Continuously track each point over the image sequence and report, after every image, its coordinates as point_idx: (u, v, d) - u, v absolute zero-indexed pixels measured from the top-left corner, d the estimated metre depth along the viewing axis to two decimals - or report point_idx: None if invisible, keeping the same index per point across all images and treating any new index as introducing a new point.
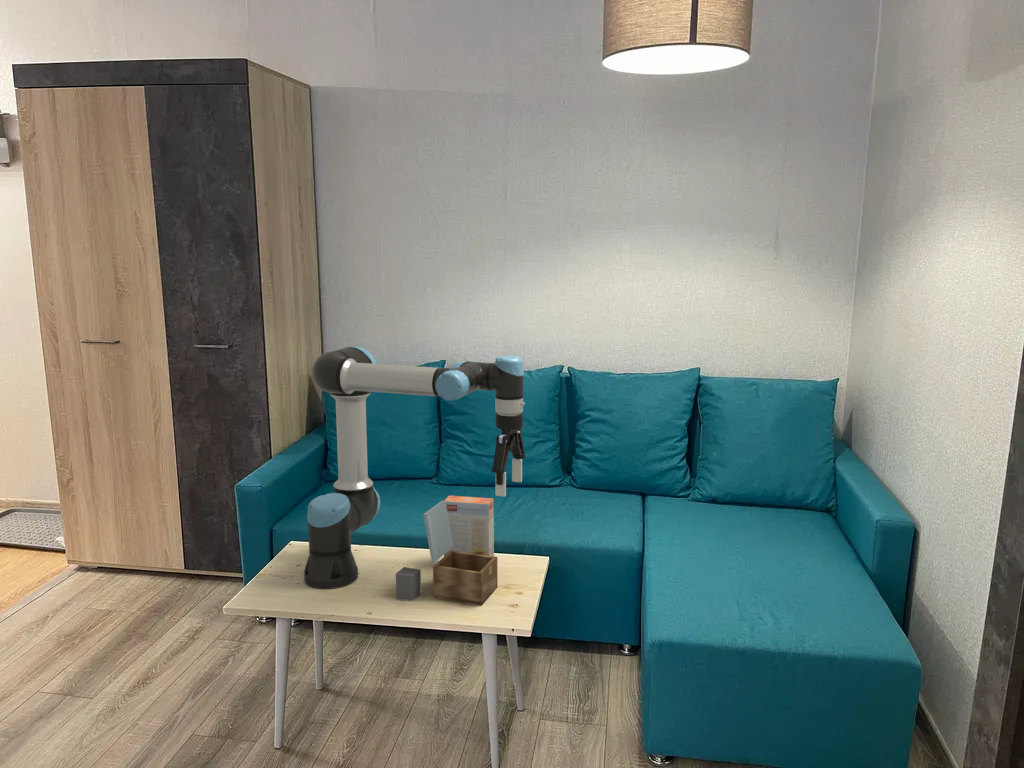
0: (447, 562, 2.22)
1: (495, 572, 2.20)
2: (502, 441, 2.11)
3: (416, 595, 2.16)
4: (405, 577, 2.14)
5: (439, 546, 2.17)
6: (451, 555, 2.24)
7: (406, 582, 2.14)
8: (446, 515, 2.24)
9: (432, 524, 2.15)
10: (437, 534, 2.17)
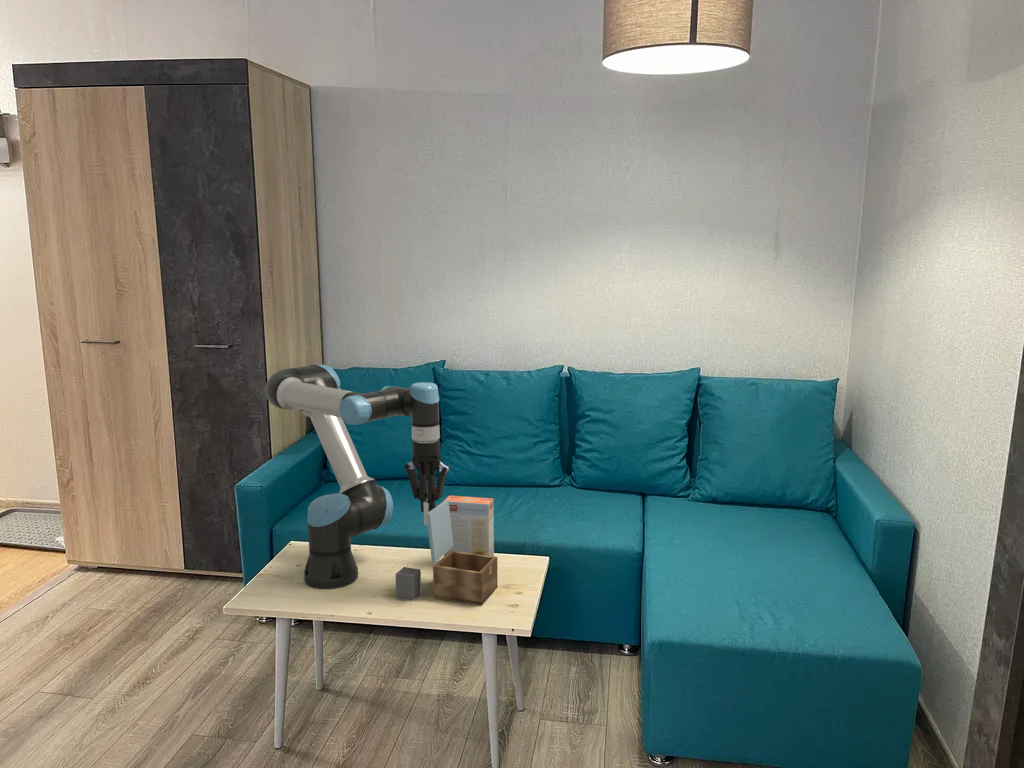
0: (447, 562, 2.22)
1: (495, 572, 2.20)
2: None
3: (416, 595, 2.16)
4: (405, 577, 2.14)
5: (440, 546, 2.17)
6: (451, 555, 2.24)
7: (406, 582, 2.14)
8: (449, 515, 2.24)
9: (434, 524, 2.15)
10: (439, 534, 2.17)
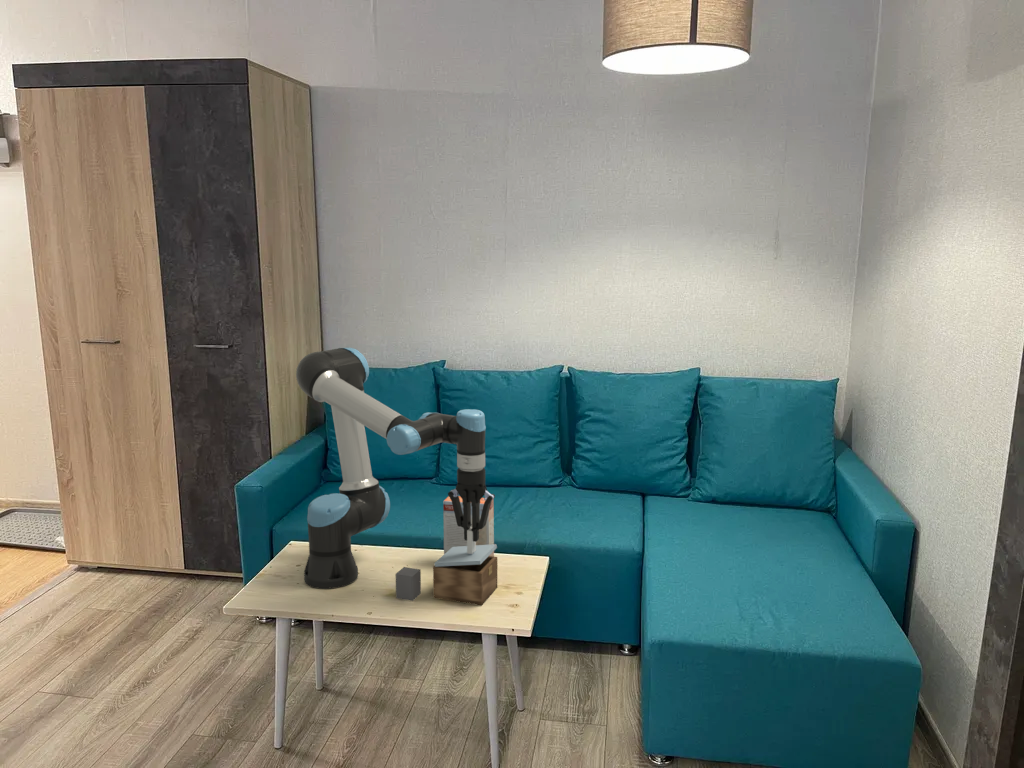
0: None
1: (495, 572, 2.20)
2: None
3: (416, 595, 2.16)
4: (405, 577, 2.14)
5: None
6: None
7: (406, 582, 2.14)
8: None
9: None
10: None
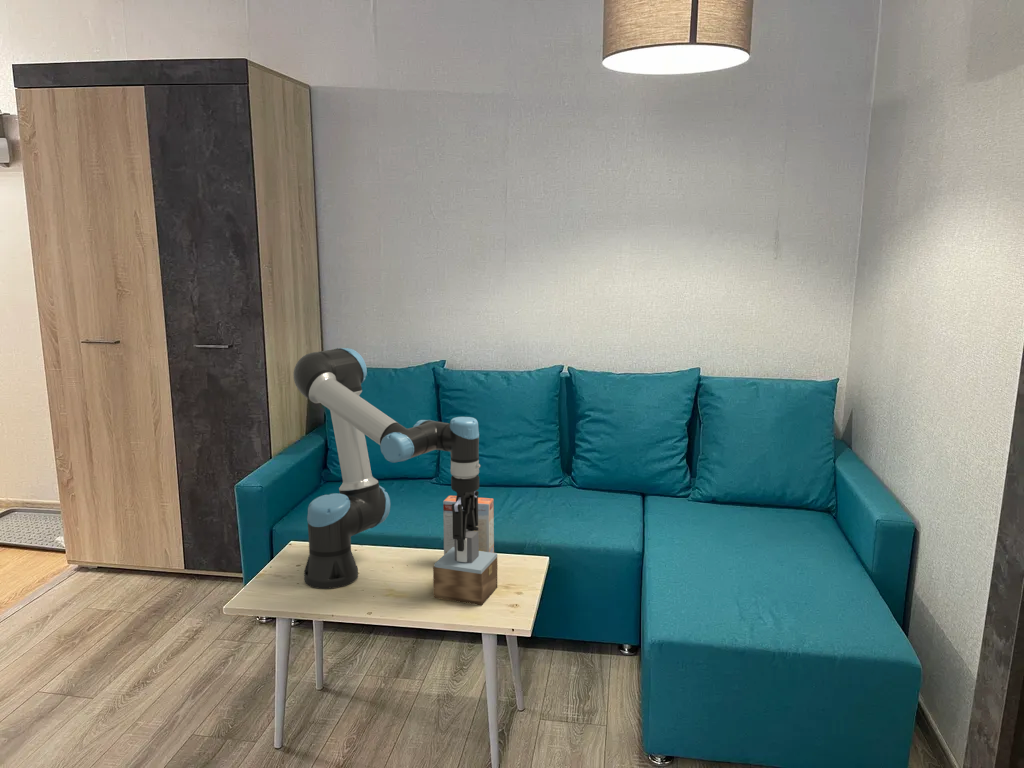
0: None
1: (495, 572, 2.20)
2: (458, 510, 2.09)
3: (475, 557, 2.16)
4: None
5: None
6: None
7: None
8: None
9: None
10: None
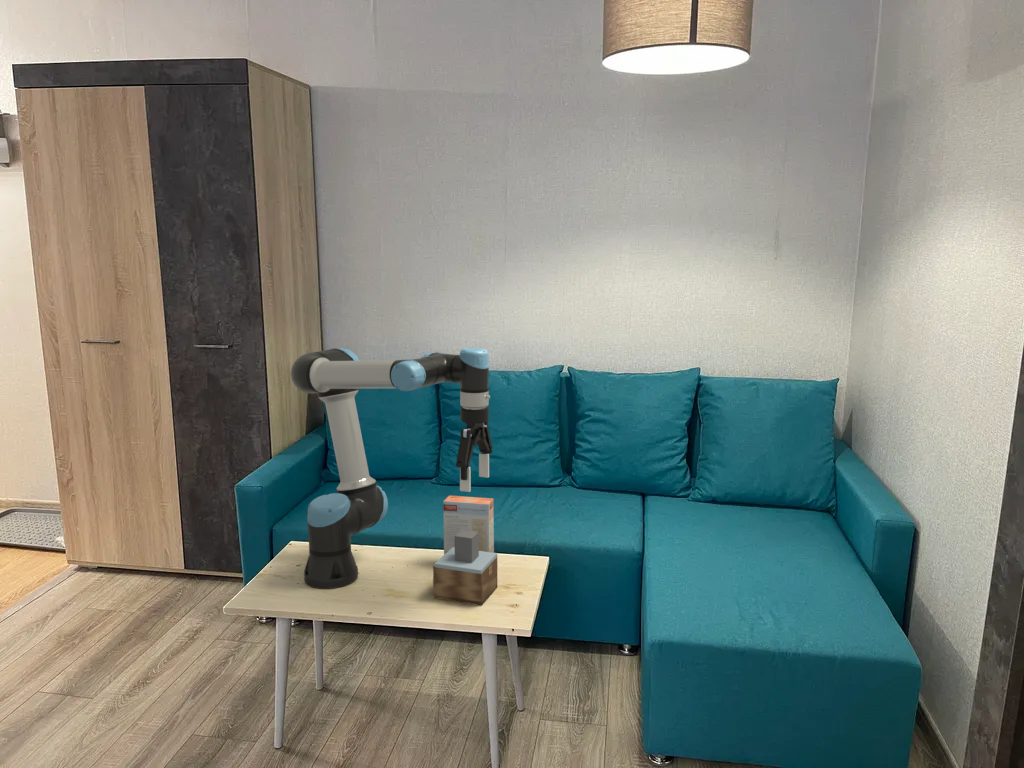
0: None
1: (495, 572, 2.20)
2: (466, 435, 2.06)
3: (475, 557, 2.16)
4: (464, 539, 2.14)
5: None
6: None
7: (465, 544, 2.14)
8: None
9: None
10: None
